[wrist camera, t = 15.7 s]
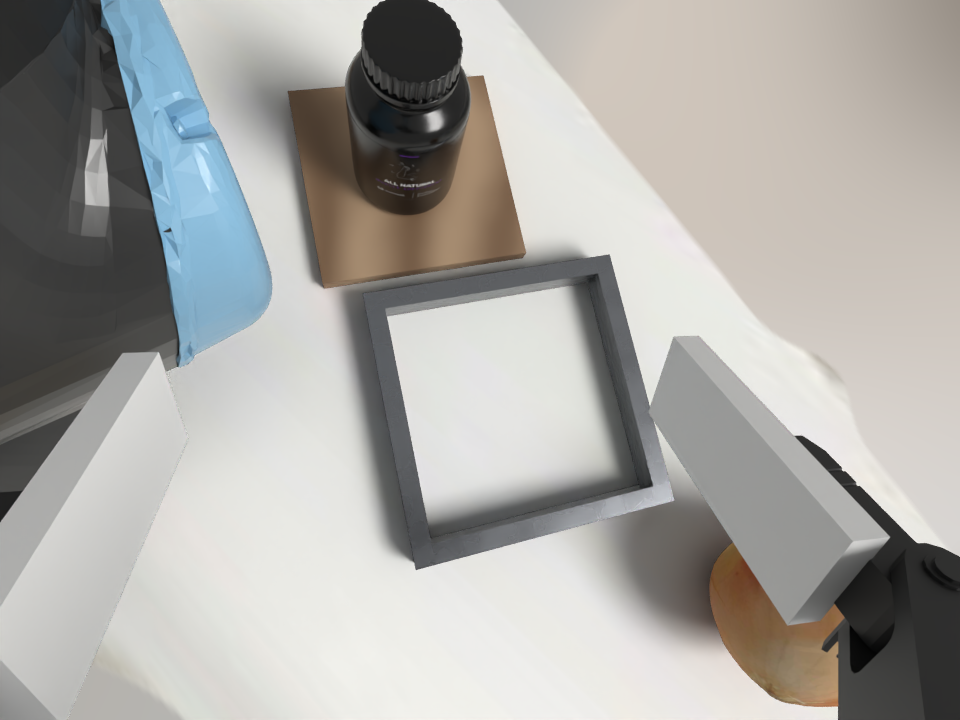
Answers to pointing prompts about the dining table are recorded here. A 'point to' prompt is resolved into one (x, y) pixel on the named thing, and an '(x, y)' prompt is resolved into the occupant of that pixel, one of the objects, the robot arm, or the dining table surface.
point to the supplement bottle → (407, 105)
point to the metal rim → (625, 381)
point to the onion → (772, 637)
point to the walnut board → (391, 237)
